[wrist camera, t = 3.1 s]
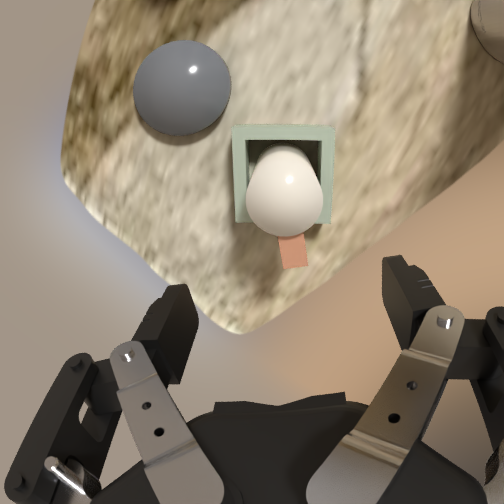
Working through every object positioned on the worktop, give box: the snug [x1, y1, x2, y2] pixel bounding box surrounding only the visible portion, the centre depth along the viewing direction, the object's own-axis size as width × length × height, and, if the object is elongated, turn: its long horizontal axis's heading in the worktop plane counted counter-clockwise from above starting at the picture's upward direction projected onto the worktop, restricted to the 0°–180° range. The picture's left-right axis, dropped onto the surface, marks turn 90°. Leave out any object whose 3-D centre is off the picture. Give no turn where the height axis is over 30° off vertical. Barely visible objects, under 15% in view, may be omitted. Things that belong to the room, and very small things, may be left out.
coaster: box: [133, 40, 231, 136], centre depth 29 cm, size 10×10×1 cm
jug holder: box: [231, 124, 335, 224], centre depth 31 cm, size 9×9×3 cm
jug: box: [246, 143, 323, 269], centre depth 28 cm, size 9×6×10 cm, turn 11°
